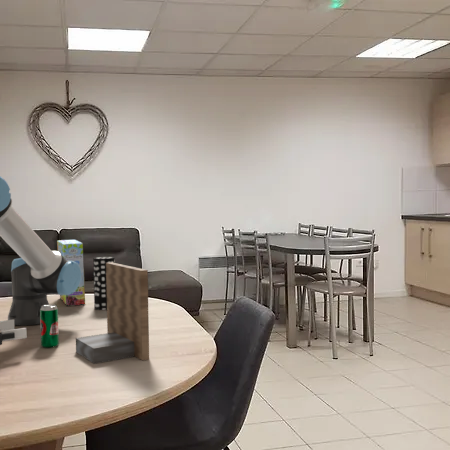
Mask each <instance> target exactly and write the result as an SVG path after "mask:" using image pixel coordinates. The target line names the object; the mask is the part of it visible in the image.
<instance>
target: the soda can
mask: <svg viewBox="0 0 450 450" xmlns="http://www.w3.org/2000/svg"><path fill="white" fill-rule="evenodd" d="M39 325H40V326H39V327H40V328H39V329H40V346H41V347H42V348H45V349H51V348H52V349H53V348H56V347H58V345H59V344H60V342H59V341H60V337H59V335H60V334H59V333H60V331H59V330H60V329H59V308H58V307H57V304H49V305H43V306H41V309H40V324H39Z"/></svg>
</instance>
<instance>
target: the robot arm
mask: <svg viewBox="0 0 450 450" xmlns="http://www.w3.org/2000/svg"><path fill="white" fill-rule="evenodd" d="M10 191H11V188H10V185H9V184H8V182H7V181H6V180H5V179H4V178H3V177H2V176H0V237H1V238H2V240H3V241H4V242H5V243H6V244H7V245H8V246H9V247H10V248H11V249H12V250H13V251H14V252H15V253H16V254H17V255H18V256H19V258H14V259H13V260H12V262H11V270H10V273H11V296H12V301H11V304H10V308H9V311H8V315H7V319H5V320H0V346H1V345H3V342H8V341H9V342H10V341H15V340H23V339H27V337H28V336H27V334H28V333H27V327H21V328H20V327H19V328H15V326H35V325H40V309H41V306H43V305H50V303H49V300H48V295H58V296H60V295H70V294H72V293H74V292H75V291H76V290H77V288H78V286H79V284H80V281H81V269H80V266H79V265H78V264H77V263H76V262H74V261H67V260H66V259H65V258H64V257H63V256H62V255H61V254H60V253H59V252H58V250H52V249H50V247H49V246H48V245H47V244H46V243H45V242H44V240H42V238H41V237H40V236H39V235H38V234H37V233H36V232H35V230H34V229H33V228H32V227H31V226H30V225H29V224H28V223H27V222H26V220H24V218H23V217H22V216H21V215H20V214H19V213H18V212H17V211H16V209H15V208H14V207H13V206H12V205H13V199H12V193H11V192H10Z"/></svg>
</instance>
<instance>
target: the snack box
mask: <svg viewBox="0 0 450 450" xmlns="http://www.w3.org/2000/svg"><path fill="white" fill-rule="evenodd" d="M56 244H57V246H56V247H57V251H58V252H59V253H60V254H61V255H62V256H63V257H64V258H65V259H66V260H67V261H74V262H76V263H77V264H78V265H79V266H80V269H81V281H80V284H79V286H78V288H77V290H76V291H75V292H74V293H72V294H70V295H59V298H60V299H61V301H62V300H63V301H62V302H63V303H64V305H65V304H66V305H75V306H81V305H80V304H85V305H86V292H85V291H86V290H85V269H84V268H85V266H84V264H85V263H84V261H85V260H84V244H83V242H81V241H79V240H77V239H61V240H60V239H59V240H56ZM66 305H65V306H66Z"/></svg>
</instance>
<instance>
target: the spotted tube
mask: <svg viewBox="0 0 450 450" xmlns="http://www.w3.org/2000/svg"><path fill="white" fill-rule="evenodd" d="M115 258H116V257H114V256H97V257H93V263H92V265H93V299H94V302H93V303H94V307H93V308H94V309H95V310H98V311H105V310H106V311H107V286H106V263H111V262H113V263H116V261H115V260H116V259H115Z"/></svg>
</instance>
